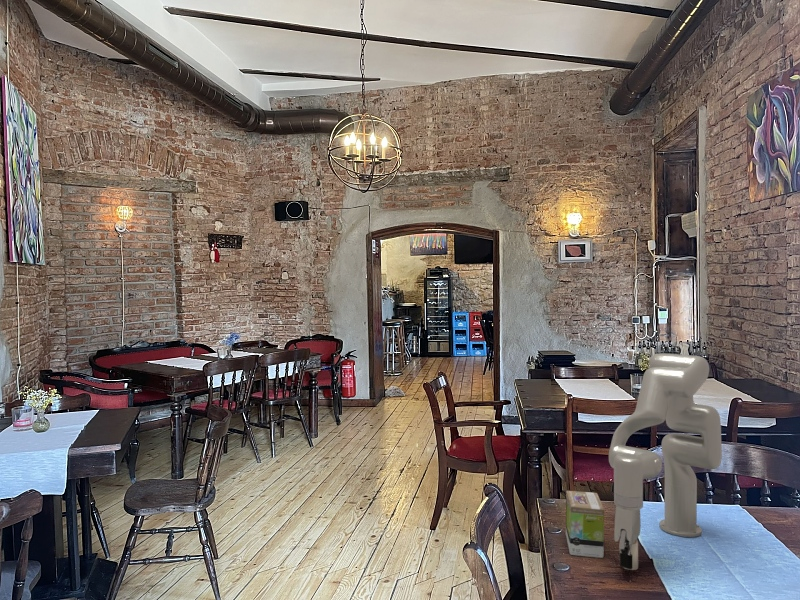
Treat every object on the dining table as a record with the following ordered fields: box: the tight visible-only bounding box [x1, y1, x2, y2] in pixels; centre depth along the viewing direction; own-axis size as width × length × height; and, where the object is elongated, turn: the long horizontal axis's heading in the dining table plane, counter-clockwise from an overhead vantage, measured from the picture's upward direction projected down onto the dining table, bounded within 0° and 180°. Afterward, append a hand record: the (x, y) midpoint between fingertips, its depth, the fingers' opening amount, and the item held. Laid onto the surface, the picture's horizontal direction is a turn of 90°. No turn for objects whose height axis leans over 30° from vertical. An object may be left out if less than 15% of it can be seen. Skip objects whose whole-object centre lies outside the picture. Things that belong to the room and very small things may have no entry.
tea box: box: [565, 490, 605, 559], centre depth 173 cm, size 15×10×15 cm, turn 168°
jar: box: [622, 539, 639, 571], centre depth 157 cm, size 5×5×8 cm
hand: (628, 562), depth 157 cm, fingers closed on jar, 4 cm apart
